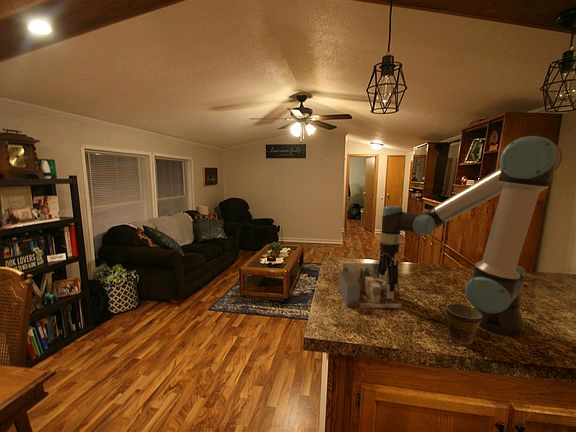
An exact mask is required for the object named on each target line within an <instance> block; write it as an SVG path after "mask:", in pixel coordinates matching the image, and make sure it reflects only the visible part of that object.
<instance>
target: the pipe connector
mask: <svg viewBox="0 0 576 432" xmlns="http://www.w3.org/2000/svg"><path fill="white" fill-rule="evenodd" d="M375 281H376V282H377V283H380V284H382V285H381V288H382V289H384V290H383V295H384V296H387V287H388V284H387V283H389V278H388V270H386V272H385V280H381V279H377V278H375ZM396 288H397V289H399V288H400V283H398V284H395V289H396Z"/></svg>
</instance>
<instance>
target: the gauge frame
mask: <svg viewBox="0 0 576 432" xmlns="http://www.w3.org/2000/svg"><path fill="white" fill-rule="evenodd" d="M378 266H379V262H377V263H376V262H375V263H372V262H365V263H364V262H342V266H341V268H342V269H341V270H340V271H339V273H338V276H339V277H338V291H339V293H340V296H341V298H342V300H343V302H344V304H345V307H351V308H353V307H356V308H359V309H402V304H401V303H381V302H380V303H371V302H369V303H367V302H366V303H362V302H361V303H360V296H361V295H360V294H361V293H360V292H361V291H364V284H365V276H368V274H370V275H371V276H372V277H373V279H374V280H375V278H377V279H379V278H380V274H379V271H378ZM384 275H385V274H384ZM378 284H379V283H378ZM381 291H384V289H381Z"/></svg>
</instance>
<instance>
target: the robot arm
mask: <svg viewBox="0 0 576 432" xmlns="http://www.w3.org/2000/svg"><path fill="white" fill-rule="evenodd" d="M562 159H563V153H562V150H561V148H560V147H559V146H558V144H556V143H555V142H553V141H552V140H550V139H549V138H547V137H544V136H539V135H528V136H523V137H520V138H517V139H515V140H513V141H511V142H510V143H509V144H507V145H506V147H504V148H503V150H502V152H501V154H500V158H499V166H500V167H499V168H498V169H496V170H495V171H493V172H491V173H489V174H487V175H486V176H484V177H482V178H481V179H480V180H478V181H475V182H474V183H473V184H471V185H469V186H467V187H466V188H465V189H462V190H460V191H459V192H458V193H455V194H454V195H452V196H451V197H449V198H447V199H446V200H444V201H442V202H440V203H439V204H437V205H436V206H434V207H432V208H430V209H429V210H427V211H423V212H417V213H413V212H406V211H405V212H404V211H403V207H402V206H398V205H385V206H384V207H383V209H382V216H381V232H380V244H379V261H378V263H379V266H378V271H379V274H380V278H379V279H381V280H385V275H384V274H385V272H386V271H388V278H389V283H387V284H388V287H387V295H386V299H395V289H396V287H395V284H399V259H396V254H398V253H399V251H400V241H401V237H402V235H401V231H402V232H407V233H410V234H411V233H412V234H417V235H419V236H420V235H423V236H428V235H431V233H433V231H434V230H436V229H439V228H440V227H441V226H443V225H444V224H446V223H447V222H449V221H451V220H453V219H455V218H457V217H458V216H459V217H460V216H461V215H463V214H464V213H466V212H469V211H470V210H472V209H474V208H476V207H478V206H479V205H481V204H484V203H485V202H487V201H489V200H491V199H494V198H495V197H497V196H499V195H500V196H499V199H498V202H497V207H496V210H495V213H494V217H493V220H492V225H491V228H490V231H489V236H488V239H487V243H486V246H485V249H484V253H483V257H482V260H480V261H478V262H475V264H474V268H473V271H472V275H471V279H469V280H468V281H467V283H466V284H465V288H464V294H465V297H466V299H467V301H468V302H469V303H470V304H471V305H472V307H473V308H474V309H476V310H478V311H479V312H481V314H482V319H481V322H480V325H479V327H481V328H482V329H484V330H487V331H489V332H492V333H496V334H499V335H504V336H511V337H512V336H513V337H514V336H519V335H521V334H523V332H524V323H523V320H522V314H521V310H520V307H521V301H522V296H523V290H524V283H525V279H526V268H524V267H523V266H520V265H518V264H519V260H520V256H521V253H522V250H523V246H524V244H525V240H526V236H527V234H528V230H529V228H530V224H531V221H532V218H533V215H534V211H535V208H536V205H537V201H538V198H539V196H540V193H542V192H543V191H545V190H546V189H548V188H549V187H550V184H551V181H552V177H553V174H554V172H555V171H556V170H557V169H558V168H559V167H560V165H561V163H562ZM381 285H382V284H380V283H379V286H380V287H381ZM381 289H382V288H381Z"/></svg>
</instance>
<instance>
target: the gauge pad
mask: <svg viewBox="0 0 576 432" xmlns="http://www.w3.org/2000/svg"><path fill="white" fill-rule="evenodd" d="M363 291H364V293H365V294H366V295H367V297H368V298H369V300H370V301H371V302H372V303H381V292H382V290H381V287H380V286H379V284H378V283H377V282H376V281H375V280H374V279H373V277H372V276H371V275H370V274H368V276H365V284H364V290H363Z"/></svg>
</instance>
